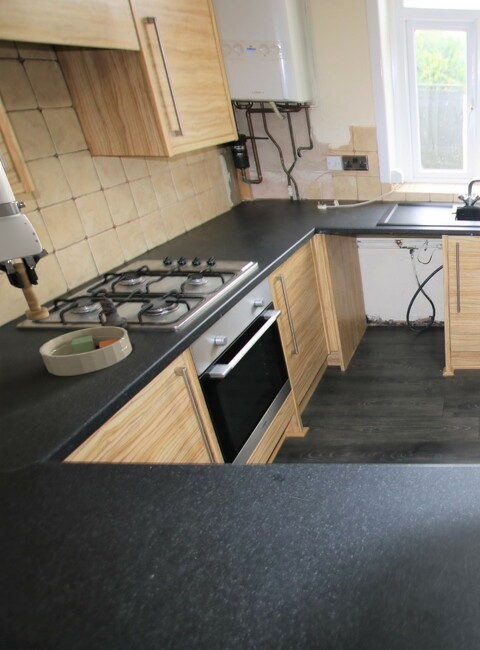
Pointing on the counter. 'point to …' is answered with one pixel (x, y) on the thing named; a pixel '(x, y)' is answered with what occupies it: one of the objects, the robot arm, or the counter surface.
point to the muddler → (30, 295)
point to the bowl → (68, 363)
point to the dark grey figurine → (112, 314)
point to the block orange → (107, 342)
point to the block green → (83, 344)
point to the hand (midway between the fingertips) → (26, 285)
